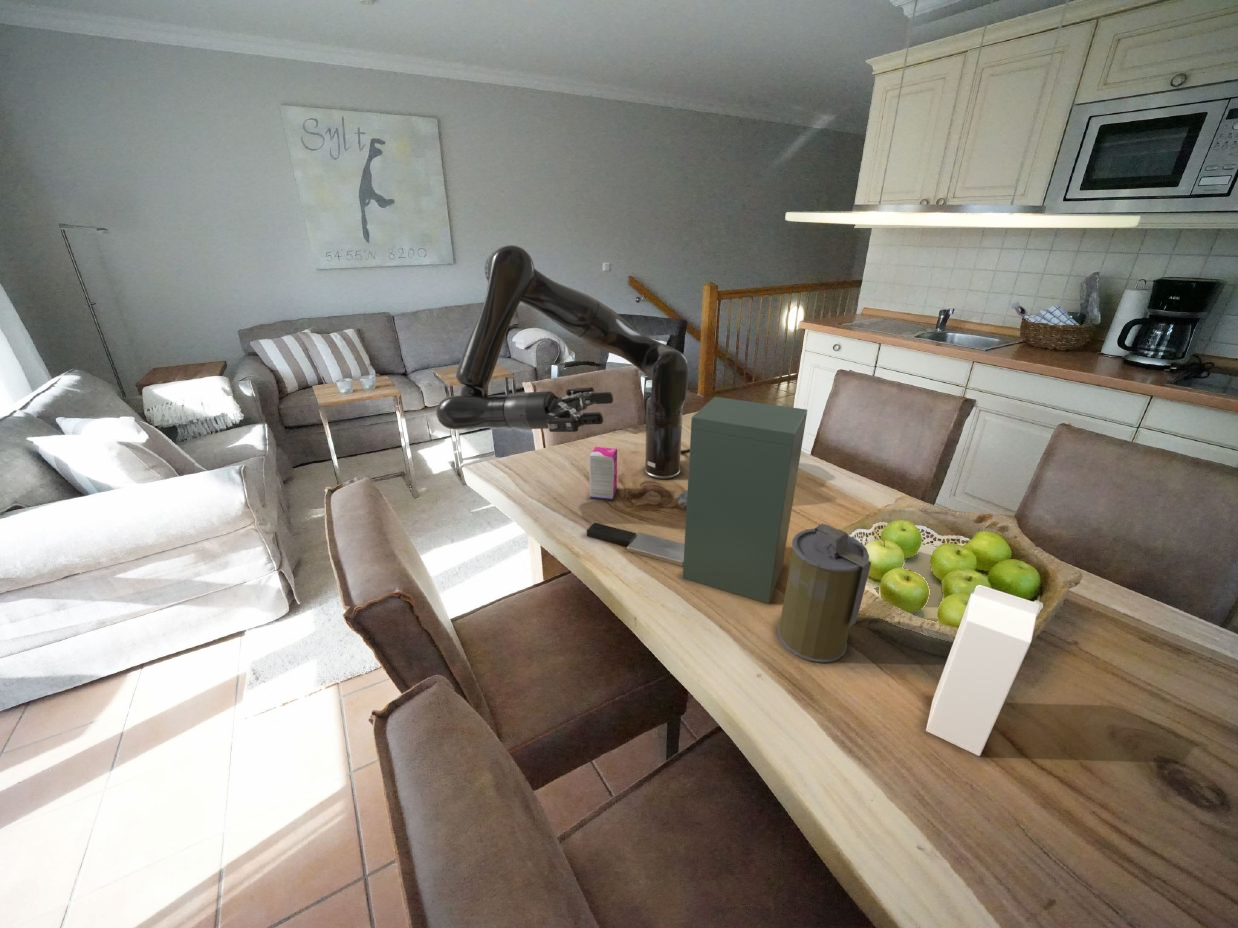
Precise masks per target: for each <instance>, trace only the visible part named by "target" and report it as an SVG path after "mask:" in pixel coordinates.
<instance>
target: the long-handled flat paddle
mask: <svg viewBox="0 0 1238 928" xmlns="http://www.w3.org/2000/svg"><path fill="white" fill-rule="evenodd" d="M586 537H589V538H591V539H596V540H600V541H603V542H607V543H610V544H615V545H618V546H621V547H625V548H626V552H629V553H634V554H637V555H640V556H644V557H648V558H652V559H655V560H657V561H661V562H665V563H670V564H673V565H677V566H681V567H683V563H684V545H685V543H682V542H678V541H674V540H669V539H665V538H662V537H658V536H654V535H651V534H646V533H642V532H638V533H637V532H632V531H629V530H625V529H621V528H618V527H614V526H611V525H605V524H603V523H598V522H593V523H592V524H591V525H590V526H589V527H588V528H587V529H586Z"/></svg>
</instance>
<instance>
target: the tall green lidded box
mask: <svg viewBox="0 0 1238 928" xmlns="http://www.w3.org/2000/svg"><path fill="white" fill-rule="evenodd" d="M807 415H808V409H806V408H799V407H792V406H784V405H778V404H770V403H763V402H756V401H748V400H743V399H742V400H741V399H735V398H728V397H721V396H714V397H713V398H711V399H710V400H709V401H708V402H707V403H706V404H704V406H702V407H701V408H700V409H699V410H698V411H697V412H696V413H695V414H694V415H692V417H691V423H690V438H689V439H690V442H689V449H690V452H689V455H688V456H689V457H688V475H687V476H688V477H687V490H688V492H687V506H686V512H685V513H686V514H685V527H684V530H685V532H684V544H685V545H684V563H683V566H682V579H685V580H688V581H691V582H694V583H698V584H701V585H704V586H708V587H711V588H714V589H717V590H721V591H725V592H727V593H730V594H731V593H732V594H734V595H737V596H741V597H744V598H748V599H750V600H754V601H757V602H761V603H764V604H768V605H769V604H770V603H771V600H772V597H773V594H774V591H775V589H776V586H777V583H778V581H779V577H780V575H781V572H782V569H783V566H784V561H785V554H786V549H787V541H788V535H789V529H790V522H791V517H792V512H793V511H792V510H793V504H794V498H795V491H796V485H797V479H798V473H799V467H800V461H801V460H800V459H801V454H802V449H803V448H802V447H803V442H804V441H803V440H804V435H805V430H806V429H805V428H806V422H807V417H808V416H807Z"/></svg>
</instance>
